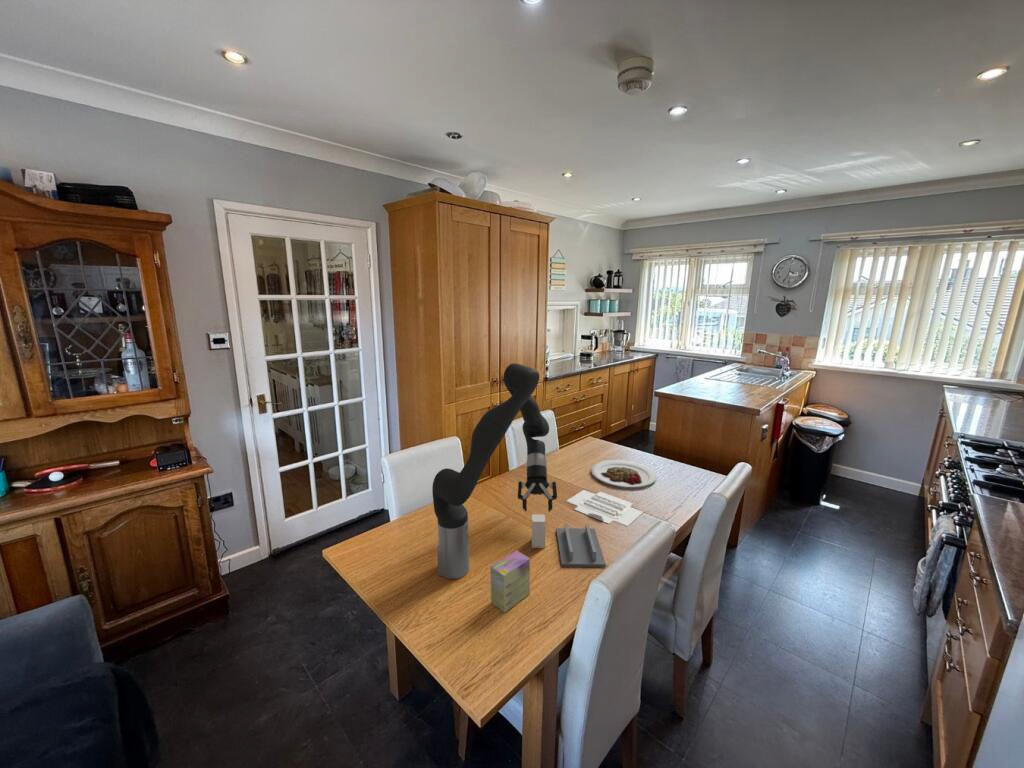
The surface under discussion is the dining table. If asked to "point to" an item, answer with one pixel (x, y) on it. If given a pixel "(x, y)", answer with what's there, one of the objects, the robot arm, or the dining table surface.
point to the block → (538, 531)
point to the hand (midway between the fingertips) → (537, 510)
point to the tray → (605, 507)
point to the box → (510, 580)
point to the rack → (579, 547)
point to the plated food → (623, 473)
